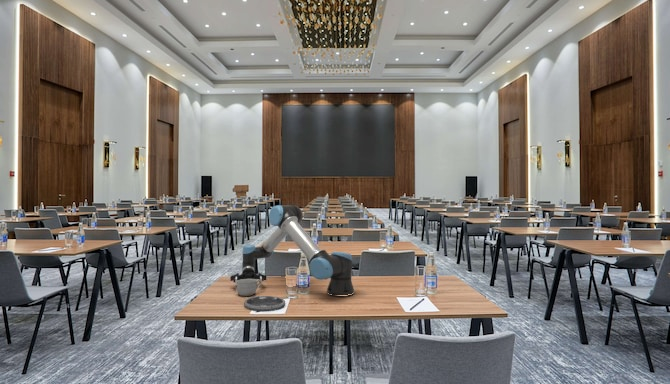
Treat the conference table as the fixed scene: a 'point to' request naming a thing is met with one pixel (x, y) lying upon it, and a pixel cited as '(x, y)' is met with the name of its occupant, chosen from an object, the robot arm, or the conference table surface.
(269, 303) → the dark grey plate
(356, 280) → the conference table surface
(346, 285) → the robot arm
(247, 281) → the teacup
